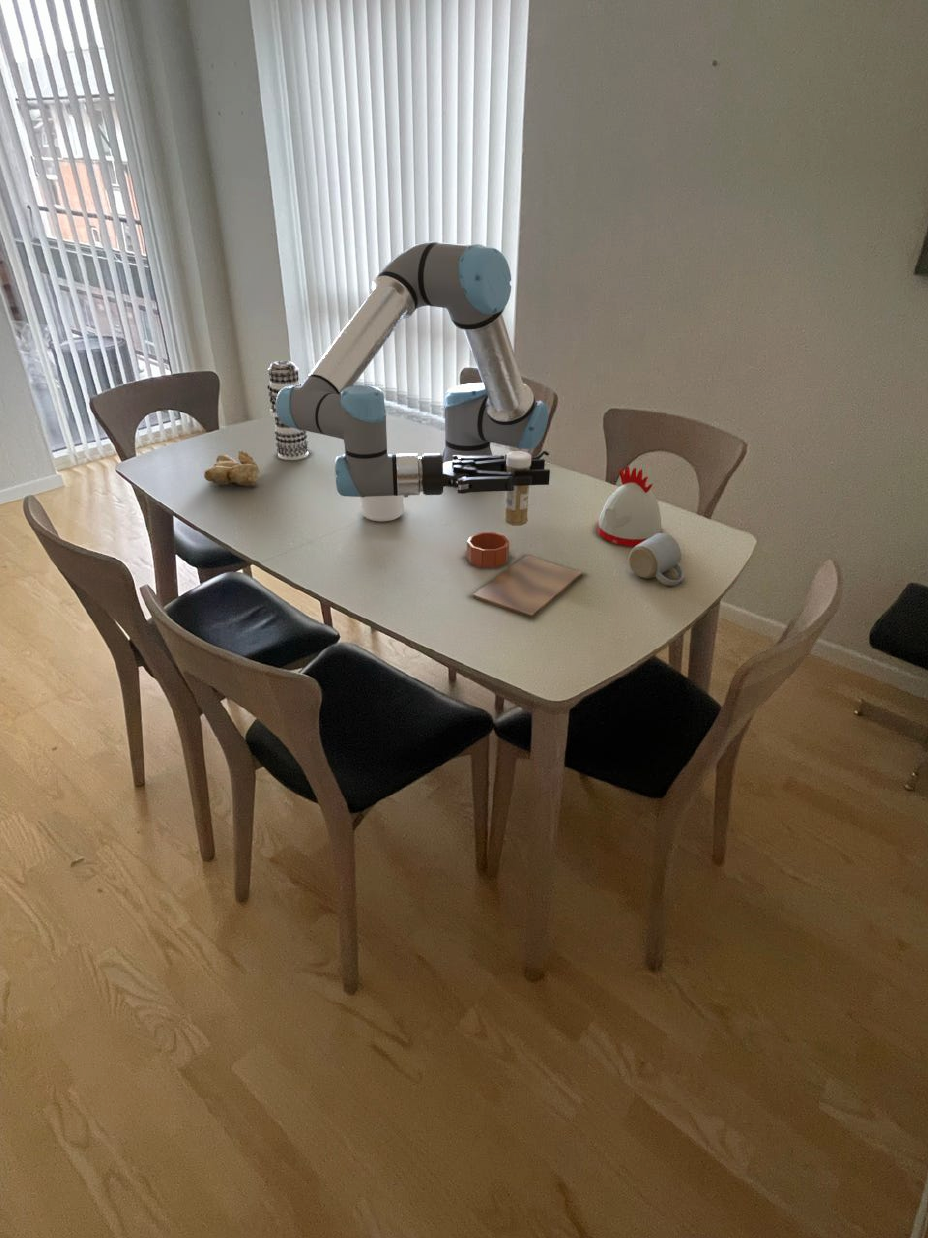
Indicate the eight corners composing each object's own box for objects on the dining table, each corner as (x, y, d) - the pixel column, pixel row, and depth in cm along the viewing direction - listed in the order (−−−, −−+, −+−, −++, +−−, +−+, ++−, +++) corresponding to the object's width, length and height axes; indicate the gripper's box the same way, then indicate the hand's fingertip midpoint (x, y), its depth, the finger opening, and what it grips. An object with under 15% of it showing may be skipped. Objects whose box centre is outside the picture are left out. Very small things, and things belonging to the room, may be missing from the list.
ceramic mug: (623, 572, 151) (628, 538, 147) (648, 559, 155) (654, 526, 151) (666, 593, 144) (673, 558, 140) (691, 579, 149) (698, 545, 145)
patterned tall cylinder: (306, 460, 203) (296, 367, 190) (273, 460, 203) (260, 366, 190) (313, 449, 211) (303, 358, 197) (280, 448, 211) (269, 358, 197)
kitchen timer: (621, 514, 175) (629, 452, 167) (672, 532, 167) (683, 469, 159) (585, 531, 167) (591, 468, 159) (636, 552, 158) (646, 486, 150)
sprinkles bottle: (530, 525, 141) (534, 457, 134) (507, 527, 140) (510, 459, 133) (523, 515, 145) (527, 449, 138) (501, 517, 144) (503, 451, 137)
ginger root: (246, 493, 180) (235, 461, 177) (195, 499, 186) (184, 468, 183) (280, 473, 193) (271, 443, 189) (232, 479, 199) (221, 450, 195)
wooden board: (526, 557, 156) (526, 555, 156) (581, 575, 150) (582, 572, 150) (473, 597, 142) (473, 594, 142) (531, 618, 136) (531, 615, 136)
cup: (397, 525, 169) (395, 484, 163) (355, 521, 170) (352, 480, 165) (409, 507, 177) (407, 468, 172) (369, 504, 179) (366, 464, 173)
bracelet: (481, 545, 161) (481, 528, 159) (515, 556, 157) (516, 539, 154) (459, 560, 155) (459, 543, 153) (494, 571, 151) (494, 554, 149)
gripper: (419, 476, 145) (537, 473, 147) (423, 513, 131) (553, 509, 132) (419, 438, 141) (539, 436, 143) (422, 472, 126) (557, 469, 128)
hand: (546, 471), depth 138 cm, fingers closed on sprinkles bottle, 5 cm apart
